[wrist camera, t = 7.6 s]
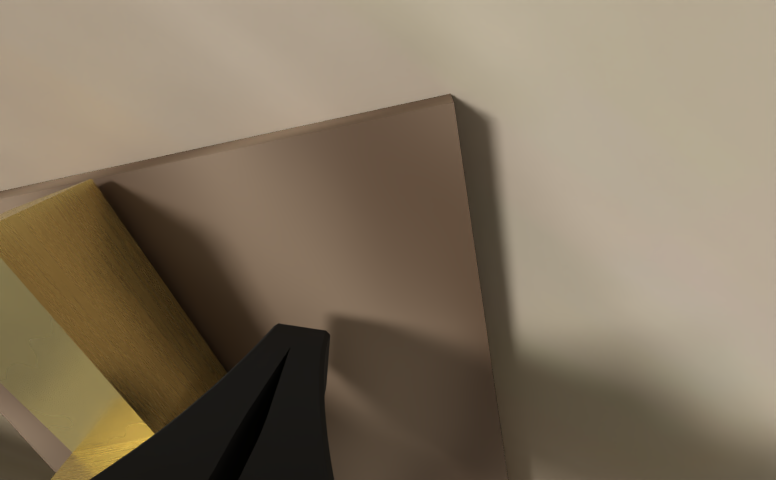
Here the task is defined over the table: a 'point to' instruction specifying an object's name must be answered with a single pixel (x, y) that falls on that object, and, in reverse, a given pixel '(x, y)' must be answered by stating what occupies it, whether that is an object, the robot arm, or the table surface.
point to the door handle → (92, 330)
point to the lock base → (328, 278)
